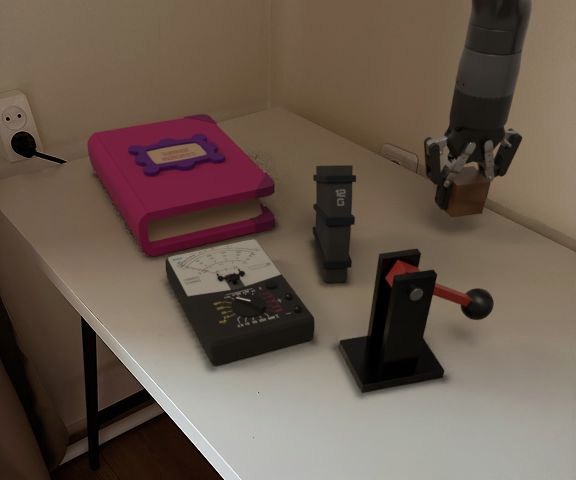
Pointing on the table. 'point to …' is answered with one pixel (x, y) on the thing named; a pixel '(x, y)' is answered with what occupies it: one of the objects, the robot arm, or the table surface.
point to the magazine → (333, 220)
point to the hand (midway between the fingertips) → (459, 204)
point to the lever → (453, 294)
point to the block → (467, 193)
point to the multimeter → (238, 301)
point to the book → (181, 183)
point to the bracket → (395, 329)
